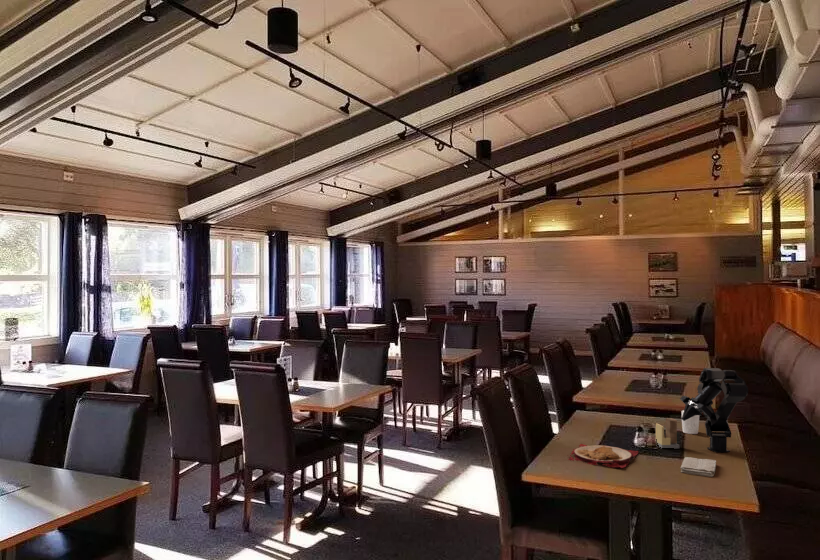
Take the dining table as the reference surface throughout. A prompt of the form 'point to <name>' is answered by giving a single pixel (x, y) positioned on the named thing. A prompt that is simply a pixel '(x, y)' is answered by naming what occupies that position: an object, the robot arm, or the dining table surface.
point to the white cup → (690, 424)
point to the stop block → (671, 429)
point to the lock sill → (663, 438)
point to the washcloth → (698, 466)
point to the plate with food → (603, 455)
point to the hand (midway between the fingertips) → (682, 420)
